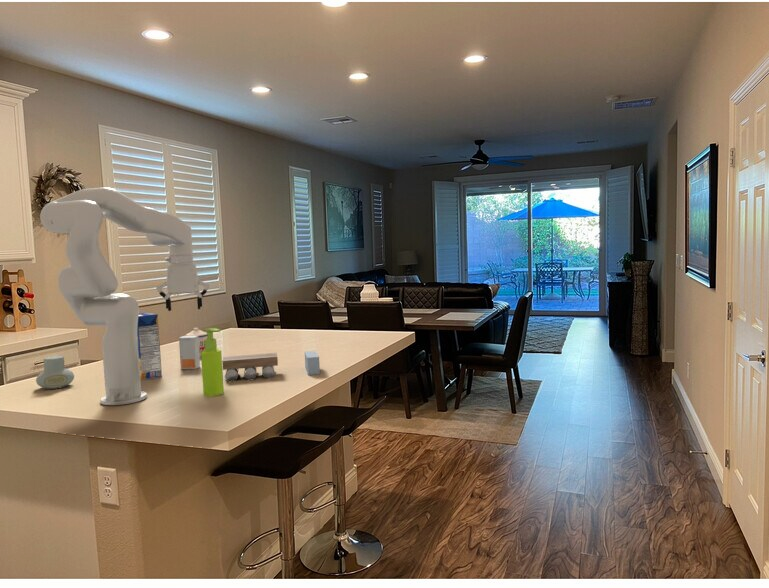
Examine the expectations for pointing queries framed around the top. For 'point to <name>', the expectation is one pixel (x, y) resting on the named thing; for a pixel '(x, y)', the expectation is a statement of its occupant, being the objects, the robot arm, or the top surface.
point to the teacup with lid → (201, 336)
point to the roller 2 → (268, 371)
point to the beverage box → (148, 346)
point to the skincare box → (189, 352)
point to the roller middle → (250, 373)
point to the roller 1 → (231, 374)
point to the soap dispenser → (212, 366)
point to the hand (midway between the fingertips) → (184, 309)
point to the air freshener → (54, 374)
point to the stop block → (312, 363)
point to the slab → (250, 361)
